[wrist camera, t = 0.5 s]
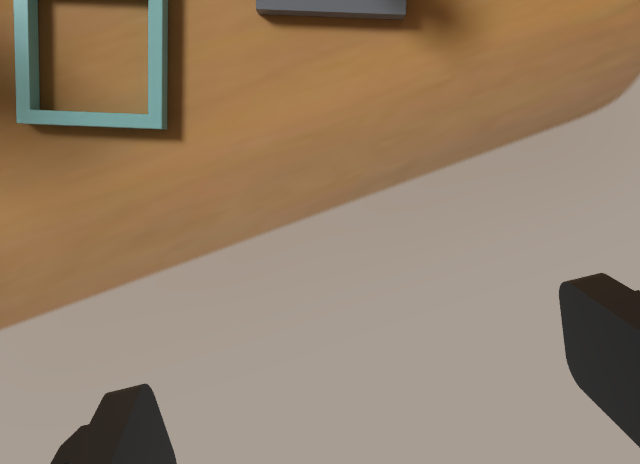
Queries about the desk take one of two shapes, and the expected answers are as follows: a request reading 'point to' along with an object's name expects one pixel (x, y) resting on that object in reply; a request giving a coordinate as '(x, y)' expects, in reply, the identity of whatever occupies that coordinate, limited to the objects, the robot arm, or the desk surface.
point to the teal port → (32, 114)
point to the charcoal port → (335, 8)
